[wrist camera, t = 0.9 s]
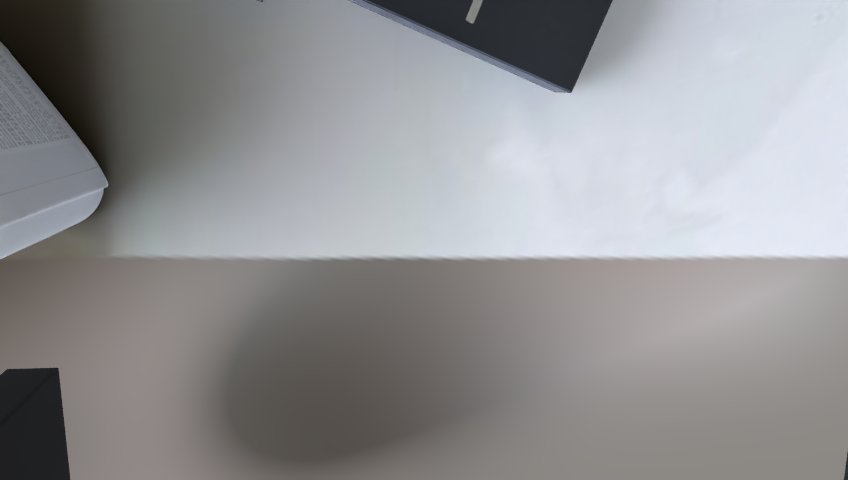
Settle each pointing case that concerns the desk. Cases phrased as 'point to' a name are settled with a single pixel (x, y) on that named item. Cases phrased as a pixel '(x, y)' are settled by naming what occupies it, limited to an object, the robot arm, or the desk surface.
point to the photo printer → (39, 164)
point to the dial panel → (509, 32)
